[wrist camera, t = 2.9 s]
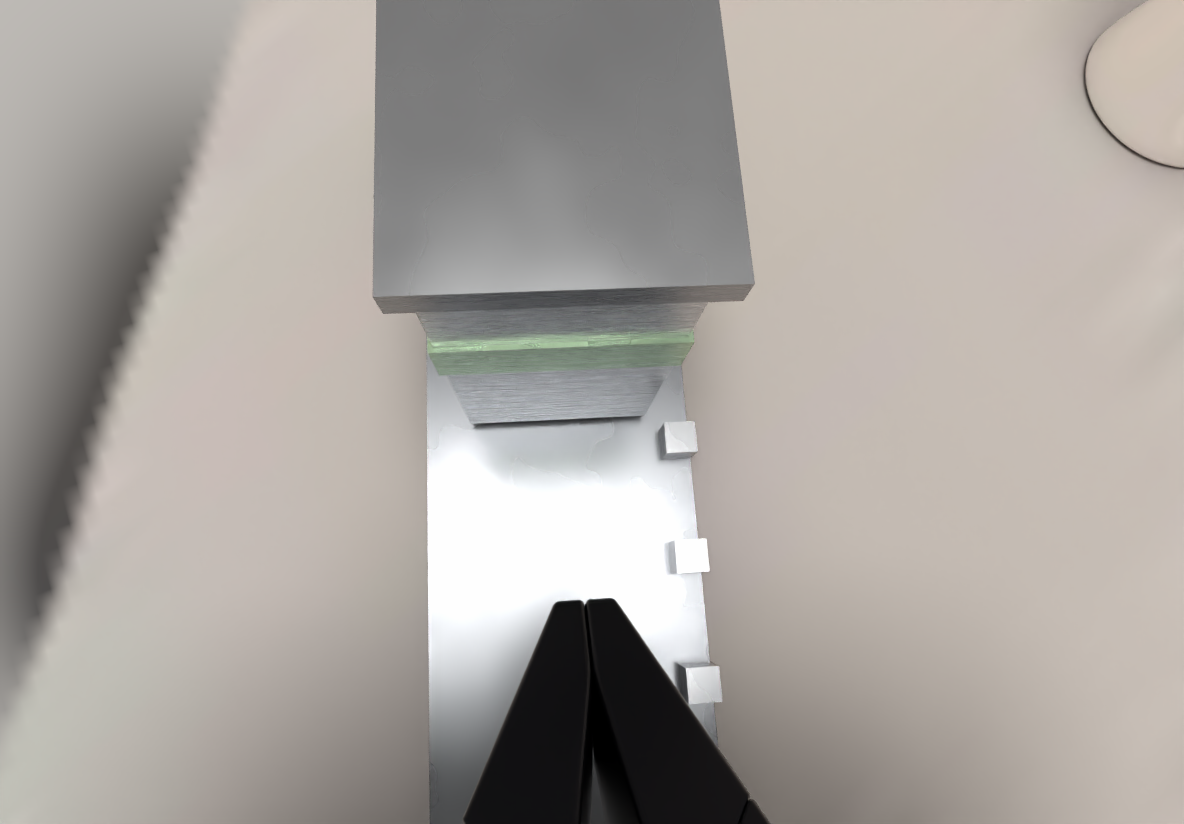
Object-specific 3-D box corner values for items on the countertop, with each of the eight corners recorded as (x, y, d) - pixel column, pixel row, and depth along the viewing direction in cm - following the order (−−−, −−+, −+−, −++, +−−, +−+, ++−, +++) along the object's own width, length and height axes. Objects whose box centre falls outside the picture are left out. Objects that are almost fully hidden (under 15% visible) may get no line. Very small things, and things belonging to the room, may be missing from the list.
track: (725, 928, 17) (775, 1027, 13) (438, 957, 17) (406, 1069, 13) (647, 92, 23) (666, -8, 19) (430, 95, 22) (406, -7, 19)
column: (657, 427, 19) (755, 283, 10) (459, 437, 18) (373, 297, 9) (641, 249, 20) (716, -25, 11) (456, 254, 19) (376, -25, 11)
